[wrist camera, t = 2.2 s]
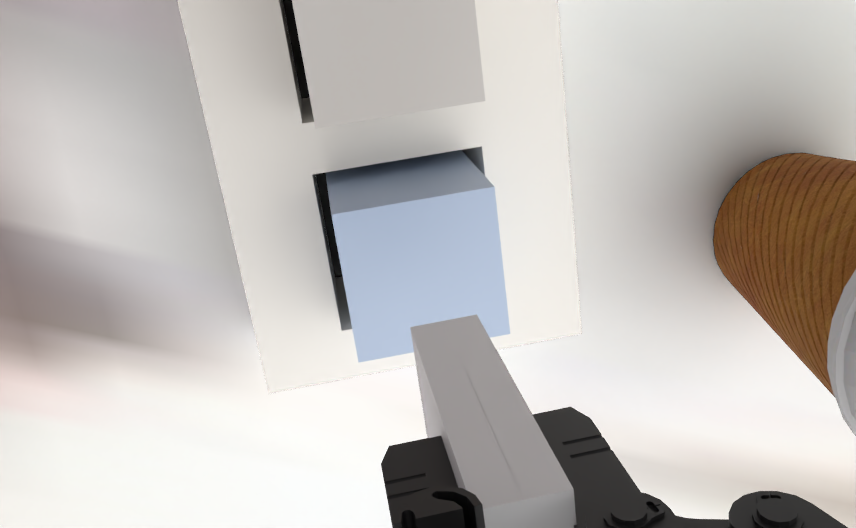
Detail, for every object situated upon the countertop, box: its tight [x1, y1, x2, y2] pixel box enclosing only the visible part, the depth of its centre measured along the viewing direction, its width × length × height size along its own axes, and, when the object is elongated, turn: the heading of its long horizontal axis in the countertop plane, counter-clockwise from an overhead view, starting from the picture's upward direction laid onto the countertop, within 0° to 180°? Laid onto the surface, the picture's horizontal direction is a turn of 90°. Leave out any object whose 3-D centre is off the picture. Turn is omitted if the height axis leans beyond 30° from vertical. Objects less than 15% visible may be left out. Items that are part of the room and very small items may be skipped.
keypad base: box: [177, 0, 582, 394], centre depth 26 cm, size 11×23×5 cm, turn 8°
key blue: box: [325, 150, 510, 362], centre depth 26 cm, size 5×5×6 cm
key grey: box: [292, 0, 485, 128], centre depth 24 cm, size 5×5×6 cm
